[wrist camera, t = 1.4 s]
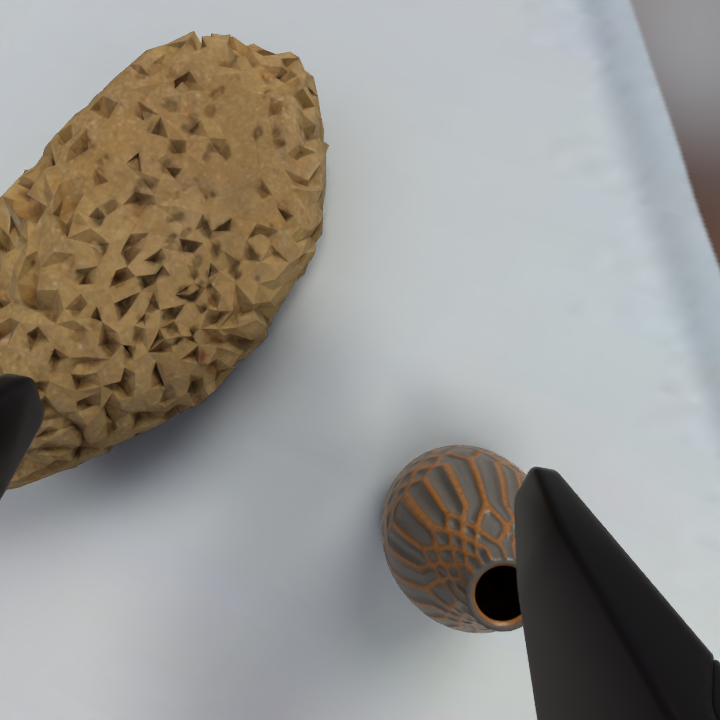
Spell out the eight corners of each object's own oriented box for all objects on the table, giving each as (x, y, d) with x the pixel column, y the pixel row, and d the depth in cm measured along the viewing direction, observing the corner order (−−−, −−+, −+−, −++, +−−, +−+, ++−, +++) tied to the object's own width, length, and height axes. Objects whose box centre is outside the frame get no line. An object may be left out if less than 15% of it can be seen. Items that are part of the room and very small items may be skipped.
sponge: (78, 489, 25) (431, 296, 21) (-101, 539, 17) (401, 251, 13) (-10, 265, 27) (299, 47, 23) (-207, 221, 19) (205, -119, 15)
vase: (467, 598, 24) (535, 743, 15) (349, 524, 24) (351, 630, 15) (543, 480, 24) (656, 560, 15) (426, 405, 24) (472, 443, 15)
